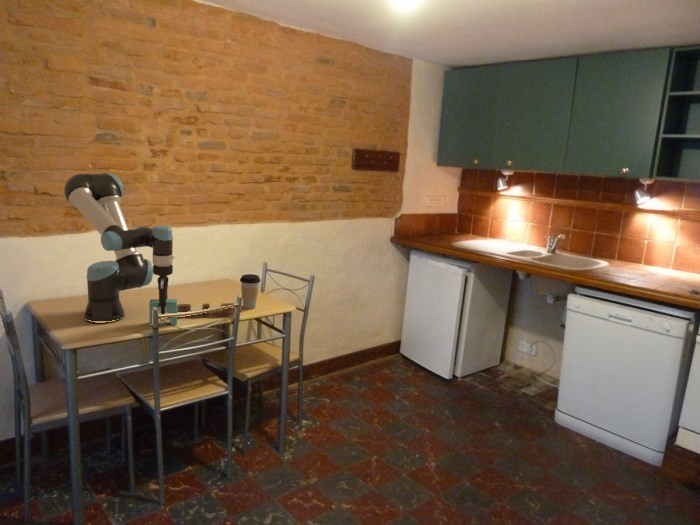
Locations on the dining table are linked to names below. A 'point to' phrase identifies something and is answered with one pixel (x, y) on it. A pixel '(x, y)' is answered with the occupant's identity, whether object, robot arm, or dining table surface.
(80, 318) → the dining table surface
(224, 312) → the rail
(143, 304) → the dining table surface
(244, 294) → the coffee cup
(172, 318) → the clip
